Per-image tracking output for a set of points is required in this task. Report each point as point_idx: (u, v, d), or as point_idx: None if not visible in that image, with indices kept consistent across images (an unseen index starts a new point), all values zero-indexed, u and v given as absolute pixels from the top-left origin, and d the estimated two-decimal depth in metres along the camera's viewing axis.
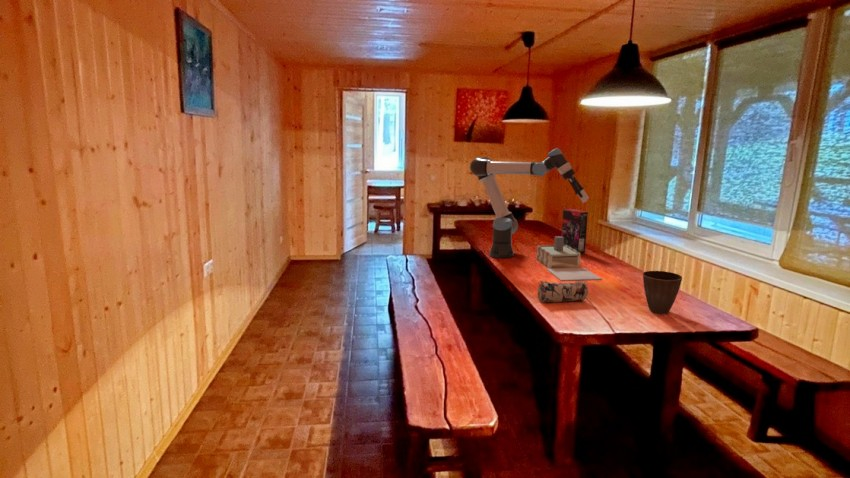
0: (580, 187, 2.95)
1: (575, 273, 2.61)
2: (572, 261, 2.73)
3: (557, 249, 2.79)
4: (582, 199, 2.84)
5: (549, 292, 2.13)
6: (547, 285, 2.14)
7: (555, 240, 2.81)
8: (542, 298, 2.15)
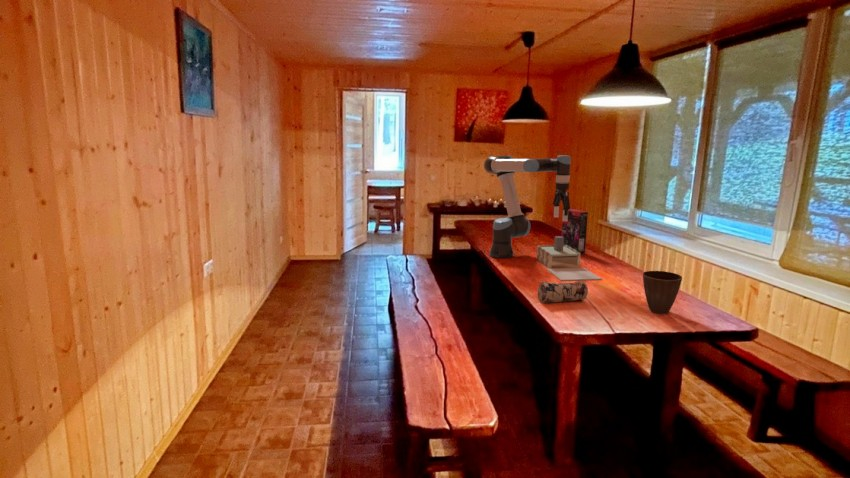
0: (558, 203, 2.82)
1: (575, 273, 2.61)
2: (572, 261, 2.73)
3: (557, 249, 2.79)
4: (564, 217, 2.71)
5: (550, 292, 2.12)
6: (547, 286, 2.14)
7: (555, 240, 2.81)
8: (542, 298, 2.14)
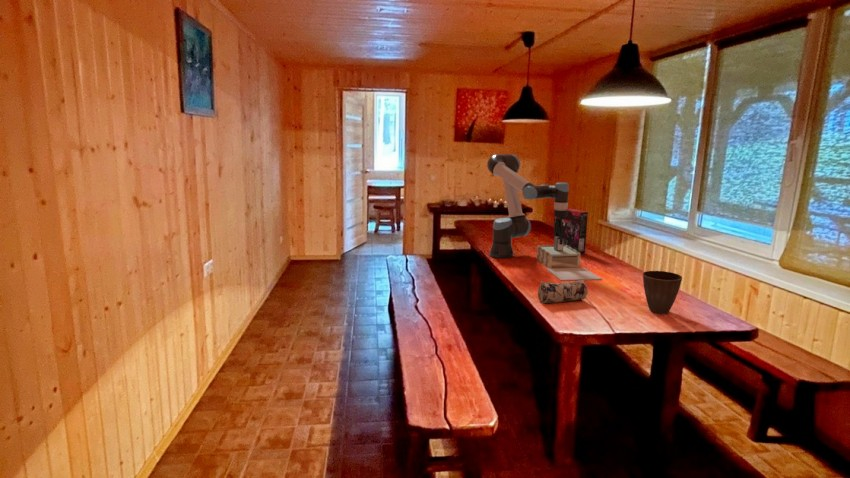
0: (559, 232, 2.82)
1: (575, 273, 2.61)
2: (572, 261, 2.73)
3: None
4: (559, 246, 2.78)
5: (551, 292, 2.12)
6: (548, 286, 2.13)
7: (555, 240, 2.81)
8: (543, 299, 2.14)
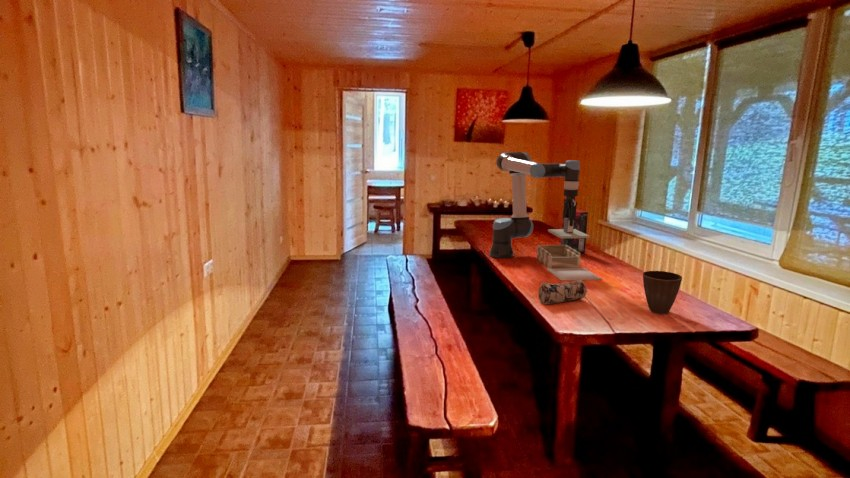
0: (569, 214, 2.67)
1: (575, 273, 2.61)
2: (572, 261, 2.73)
3: None
4: (569, 228, 2.63)
5: (553, 293, 2.11)
6: (550, 287, 2.12)
7: (565, 222, 2.65)
8: (545, 300, 2.12)
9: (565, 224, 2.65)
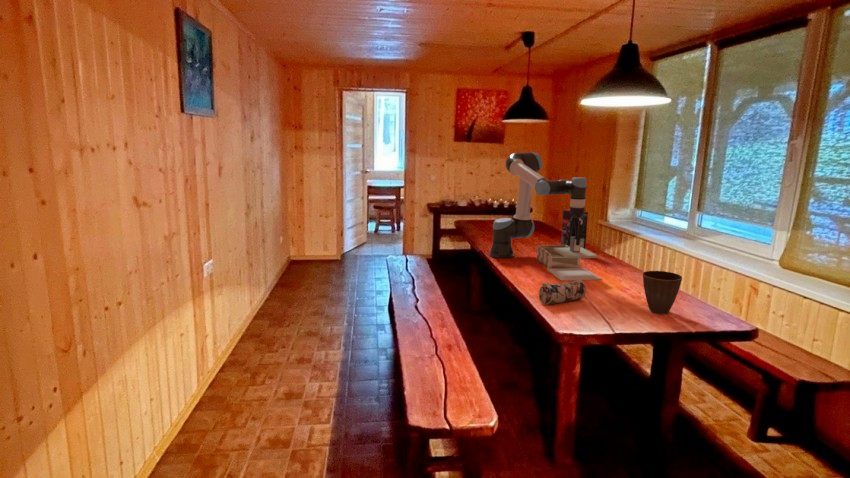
0: (575, 232, 2.58)
1: (575, 273, 2.61)
2: (572, 261, 2.73)
3: (573, 250, 2.56)
4: (576, 247, 2.55)
5: (554, 293, 2.10)
6: (551, 287, 2.11)
7: (571, 240, 2.57)
8: (547, 300, 2.12)
9: (571, 243, 2.57)
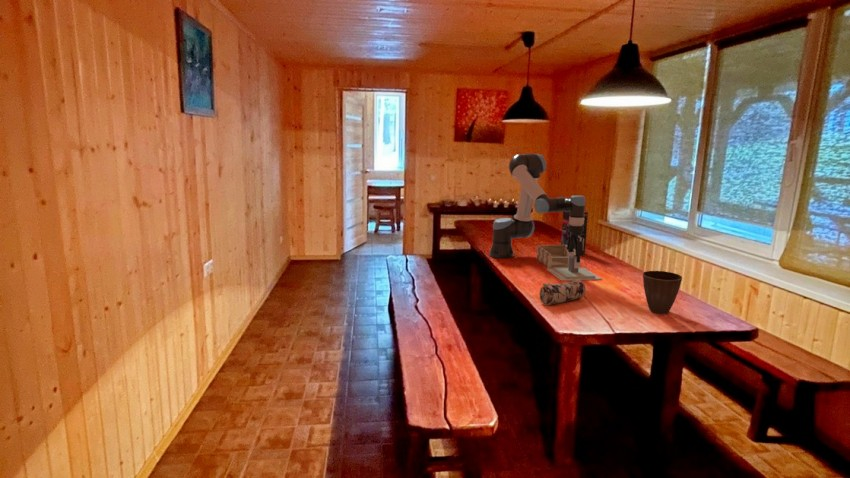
0: (572, 248, 2.62)
1: None
2: None
3: (572, 270, 2.58)
4: (576, 264, 2.55)
5: (556, 294, 2.10)
6: (552, 288, 2.11)
7: (570, 260, 2.59)
8: (548, 301, 2.11)
9: (570, 263, 2.59)
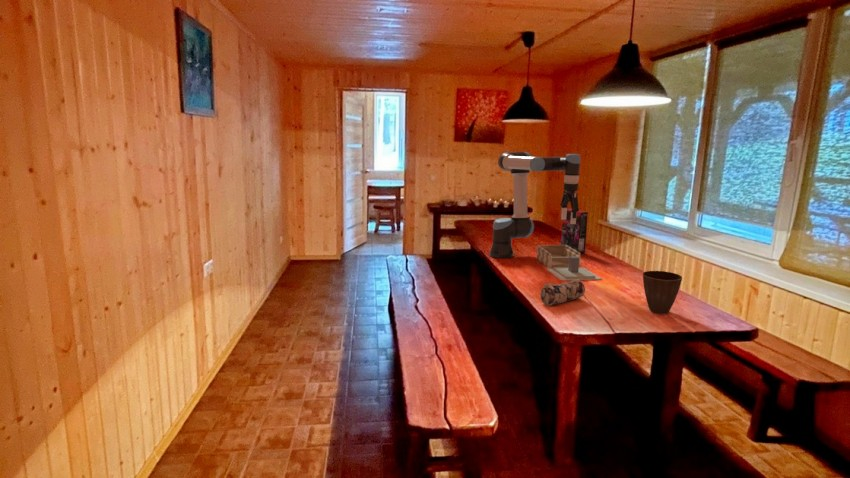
0: (566, 204, 2.67)
1: None
2: None
3: (572, 270, 2.58)
4: (572, 220, 2.55)
5: (557, 294, 2.09)
6: (554, 288, 2.10)
7: (570, 260, 2.59)
8: (550, 301, 2.10)
9: (570, 263, 2.59)
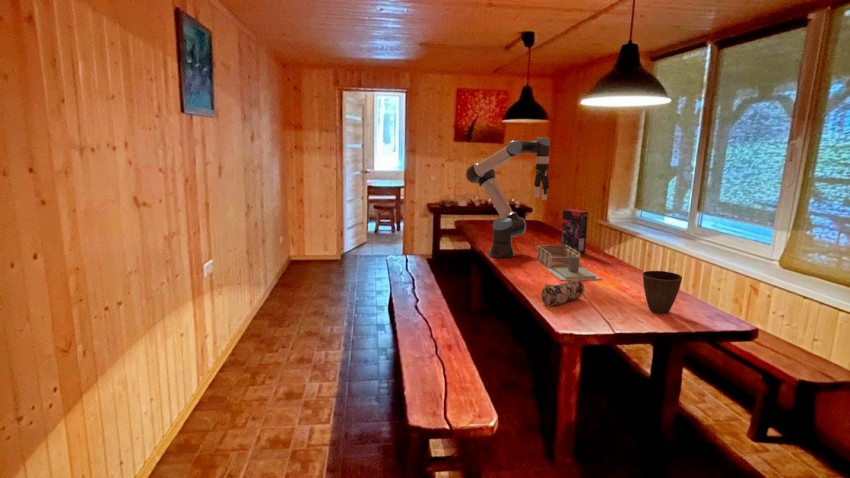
0: (539, 183, 2.97)
1: None
2: None
3: (572, 270, 2.58)
4: (544, 196, 2.86)
5: (559, 294, 2.09)
6: (555, 289, 2.10)
7: (570, 260, 2.59)
8: (551, 302, 2.10)
9: (570, 263, 2.59)
